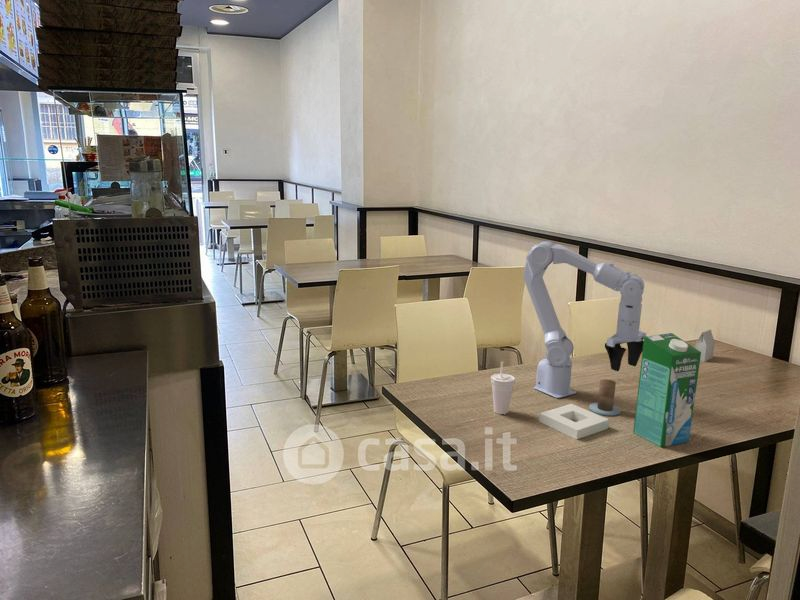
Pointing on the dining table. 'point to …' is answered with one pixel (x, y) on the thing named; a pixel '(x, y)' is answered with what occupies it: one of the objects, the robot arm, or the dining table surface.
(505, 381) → the smoothie
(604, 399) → the walnut dowel
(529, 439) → the dining table surface
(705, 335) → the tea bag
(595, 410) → the coaster
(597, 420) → the holder block
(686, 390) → the milk carton
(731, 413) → the dining table surface
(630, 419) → the dining table surface
